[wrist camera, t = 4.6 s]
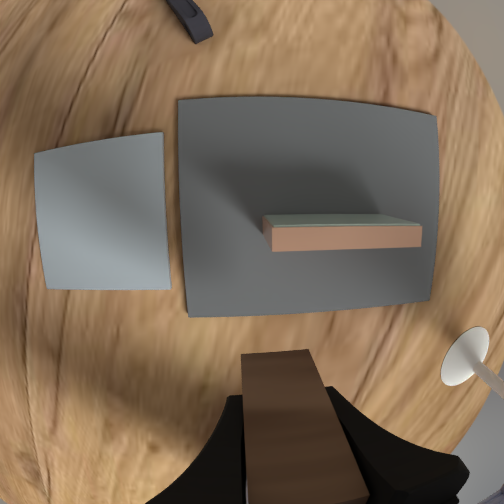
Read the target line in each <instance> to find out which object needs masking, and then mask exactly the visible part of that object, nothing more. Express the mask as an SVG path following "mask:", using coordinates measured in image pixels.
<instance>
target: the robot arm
mask: <svg viewBox="0 0 504 504" xmlns="http://www.w3.org/2000/svg"><path fill="white" fill-rule="evenodd" d="M325 389H326V391H327V394H328V396H329V398H330V401H331V403H332V405H333V408H334V410H335V413H336V415H337V417H338V420H339V422H340V424H341V427H342V429H343V432H344V434H345V436H346V439H347V441H348V443H349V446H350V448H351V451H352V453H353V455H354V458H355V460H356V463H357V465H358V468H359V470H360V472H361V475H362V477H363V480H364V482H365V485H366V487H367V489H368V492H369V494H370V496H369V498H368V500H367V502H366V504H458V503H459V499H458V498H457V496H456V494H458V492H459V491H460V490H461V488H462V486H464V484H465V483H466V481H467V479H468V477H469V473H470V472H469V470H468V469H467V467H466V466H465V464H464V463H463V461H462V460H461V459H460V458H459V457H458V456H456V455H451V454H445V453H441V452H436V451H433V450H429V449H426V448H423V447H420V446H417V445H415V444H412V443H410V442H408V441H405V440H403V439H401V438H399V437H397V436H395V435H393V434H392V433H390V432H388V431H386V430H385V429H383V428H381V427H380V426H378V425H377V424H375V423H374V422H373V421H371V420H370V419H369V418H367V417H366V416H365V415H364V414H362V413H361V412H360V411H359V410H358V409H356V408H355V407H354V406H353V405H352V404H351V403H350V402H348V401H347V400H346V399H345V398H344V397H343V396H342V395H341V394H340V393H339V392H338V391H337V390H336V389H335V388H334V387H332V386H329V387H325ZM145 504H248V489H247V472H246V454H245V435H244V414H243V395H230V396H228V397H227V400H226V404H225V407H224V410H223V412H222V415H221V417H220V419H219V422H218V424H217V426H216V428H215V430H214V432H213V433H212V435H211V437H210V438H209V440H208V442H207V443H206V445H205V446H204V448H203V449H202V451H201V452H200V453H199V455H198V456H197V457H196V459H195V460H194V461H193V462H192V463H191V465H190V466H189V467H188V468H187V469H186V470H185V471H184V472H183V473H182V474H181V475H180V476H179V477H178V478H177V479H176V480H175V481H174V482H173V483H172V484H171V485H169V486H168V487H167V488H166V489H165V490H163V491H162V492H161V493H159V494H158V495H156V496H155V497H154V498H152V499H151V500H149V501H148V502H146V503H145ZM477 504H504V484H503V486H502V487H501V489H500V490H498V491H497V492H496V493H494V494H492V495H490V496H489V497H487V498H486V499H484V500H483V501H481V502H479V503H477Z"/></svg>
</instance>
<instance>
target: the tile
mask: <svg viewBox="0 0 504 504" xmlns="http://www.w3.org/2000/svg"><path fill="white" fill-rule="evenodd" d="M262 222H263V236H264V238H265V239H266V241H267V243H268V245H269V247H270V249H271V250H272V252H281V251H311V250H341V249H372V248H402V247H421V240H422V226H420V224H418V223H414V222H410V221H407V220H403V219H399V218H395V217H391V216H387V215H383V214H282V215H264V216H262Z"/></svg>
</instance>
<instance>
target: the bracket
mask: <svg viewBox="0 0 504 504" xmlns="http://www.w3.org/2000/svg"><path fill="white" fill-rule="evenodd" d="M166 1H167V3H168V4H169V5H170V7H171V8H172V10H173V11H174V13H175V14H176V16H177V17H178V19H179V20H180V22H181V23H182V25H183V26H184V28H185V29H186V30H187V32H188V33H189V35H190V37H191V38H192V40H193V41H194V43H195V44H197V43H199V42H201V41H203V40H205V39H207V38H210V37H212V36H213V32H212V29H211V26H210V24H209V22H208V20H207V18H206V16H205V15H204V13H203V12H202V10H201V9H200V8H199V7H198V6H197V5H196V4H195V3H194V1H193V0H166Z"/></svg>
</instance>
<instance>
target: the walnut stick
mask: <svg viewBox="0 0 504 504" xmlns="http://www.w3.org/2000/svg"><path fill="white" fill-rule="evenodd" d="M241 370H242V393H243V414H244V435H245V454H246V472H247V489H248V504H366V502H367V500H368V498H369V496H370V494H369V492H368V489H367V487H366V485H365V482H364V480H363V477H362V475H361V472H360V470H359V468H358V465H357V463H356V460H355V458H354V455H353V453H352V451H351V448H350V446H349V443H348V441H347V439H346V436H345V434H344V432H343V429H342V427H341V424H340V422H339V420H338V417H337V415H336V413H335V410H334V408H333V405H332V403H331V401H330V398H329V396H328V394H327V391H326V389H325V387H324V384H323V382H322V380H321V377H320V375H319V373H318V370H317V368H316V366H315V363H314V361H313V359H312V356H311V354H310V352H309V349H304V350H293V351H281V352H268V353H251V354H241Z"/></svg>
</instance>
